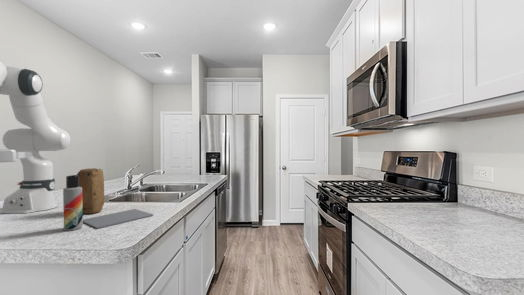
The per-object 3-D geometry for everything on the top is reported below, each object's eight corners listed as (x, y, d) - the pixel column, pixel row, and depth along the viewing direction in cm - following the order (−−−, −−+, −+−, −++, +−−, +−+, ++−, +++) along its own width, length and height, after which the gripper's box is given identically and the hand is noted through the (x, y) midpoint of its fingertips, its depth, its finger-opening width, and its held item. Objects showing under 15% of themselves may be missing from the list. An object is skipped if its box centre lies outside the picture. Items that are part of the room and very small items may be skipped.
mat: (97, 229, 95) (97, 227, 95) (80, 221, 104) (80, 219, 104) (153, 215, 112) (153, 214, 112) (134, 210, 122) (134, 208, 122)
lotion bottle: (67, 232, 92) (67, 176, 91) (61, 229, 95) (60, 175, 94) (85, 227, 97) (84, 174, 96) (78, 225, 100) (77, 173, 99)
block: (106, 210, 121) (105, 168, 121) (92, 215, 114) (92, 169, 114) (86, 209, 123) (86, 168, 123) (72, 213, 116) (71, 169, 116)
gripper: (-31, 145, 68) (37, 144, 79) (-38, 145, 81) (21, 145, 92) (-30, 168, 68) (37, 165, 79) (-38, 165, 81) (22, 162, 92)
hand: (29, 154), depth 86 cm, fingers open, 5 cm apart
